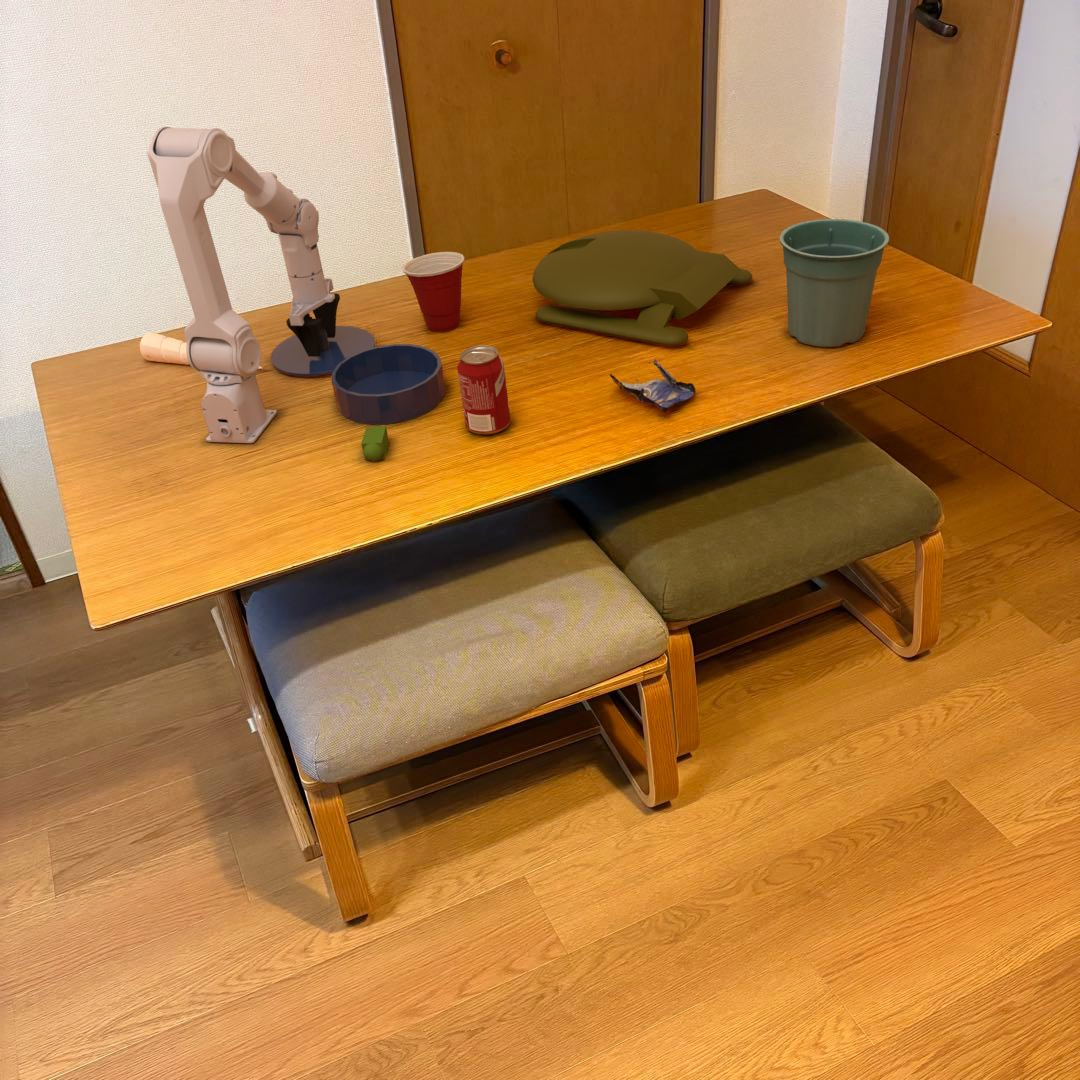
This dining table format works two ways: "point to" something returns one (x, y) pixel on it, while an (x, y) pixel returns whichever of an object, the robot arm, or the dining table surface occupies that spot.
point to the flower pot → (830, 278)
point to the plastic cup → (437, 288)
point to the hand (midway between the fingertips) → (322, 346)
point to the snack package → (660, 390)
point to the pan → (388, 384)
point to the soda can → (483, 390)
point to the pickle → (375, 443)
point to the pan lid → (333, 351)
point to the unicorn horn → (164, 349)
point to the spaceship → (631, 284)
